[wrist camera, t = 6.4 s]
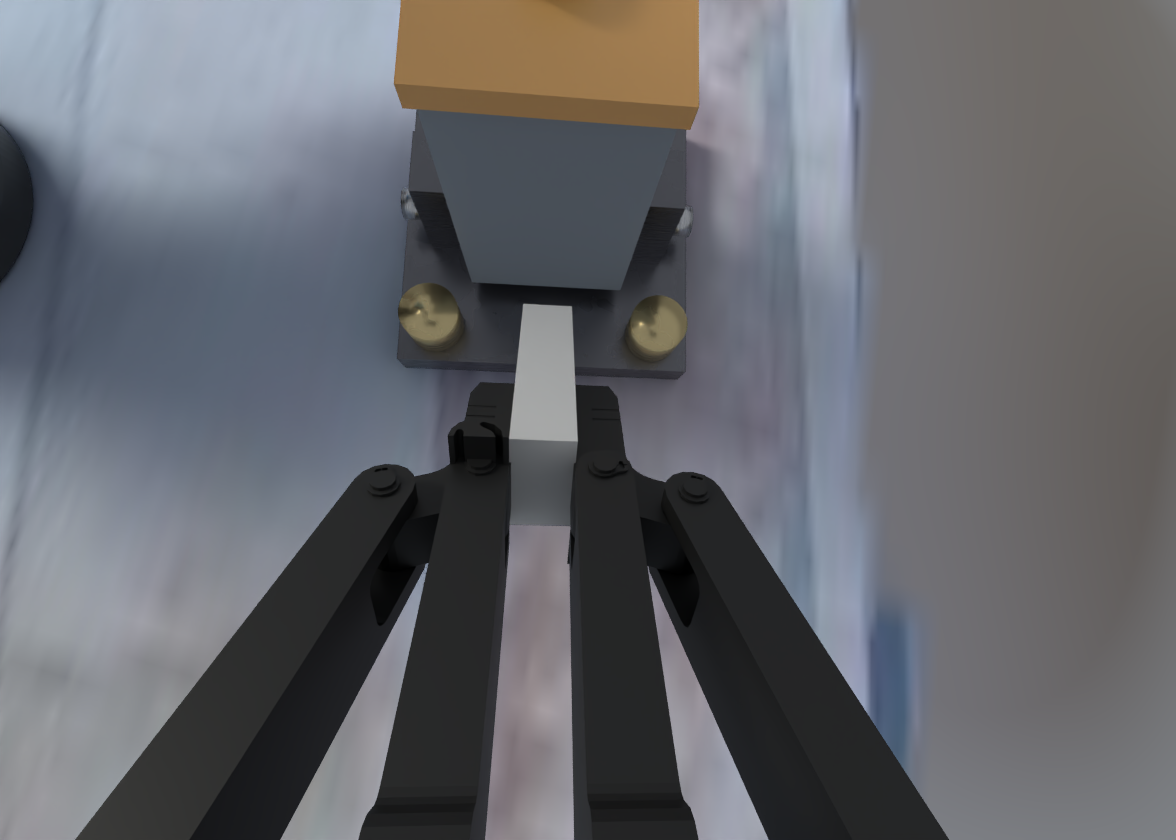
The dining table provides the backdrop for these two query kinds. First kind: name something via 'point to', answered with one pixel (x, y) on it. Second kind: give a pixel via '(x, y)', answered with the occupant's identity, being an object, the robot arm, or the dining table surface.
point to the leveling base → (543, 290)
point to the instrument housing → (549, 125)
